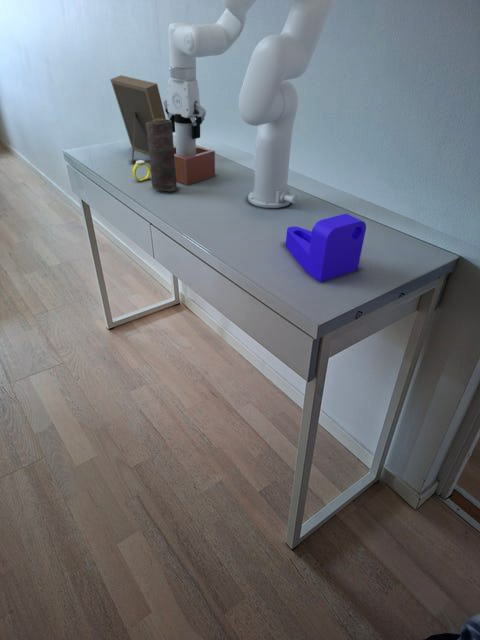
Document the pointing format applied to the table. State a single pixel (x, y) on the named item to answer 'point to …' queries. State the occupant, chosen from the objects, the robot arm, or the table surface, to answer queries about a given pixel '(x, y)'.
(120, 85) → the photo frame
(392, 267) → the table surface
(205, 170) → the holder
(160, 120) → the dark brown tall block
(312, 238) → the bracket
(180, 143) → the travel mug
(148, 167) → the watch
